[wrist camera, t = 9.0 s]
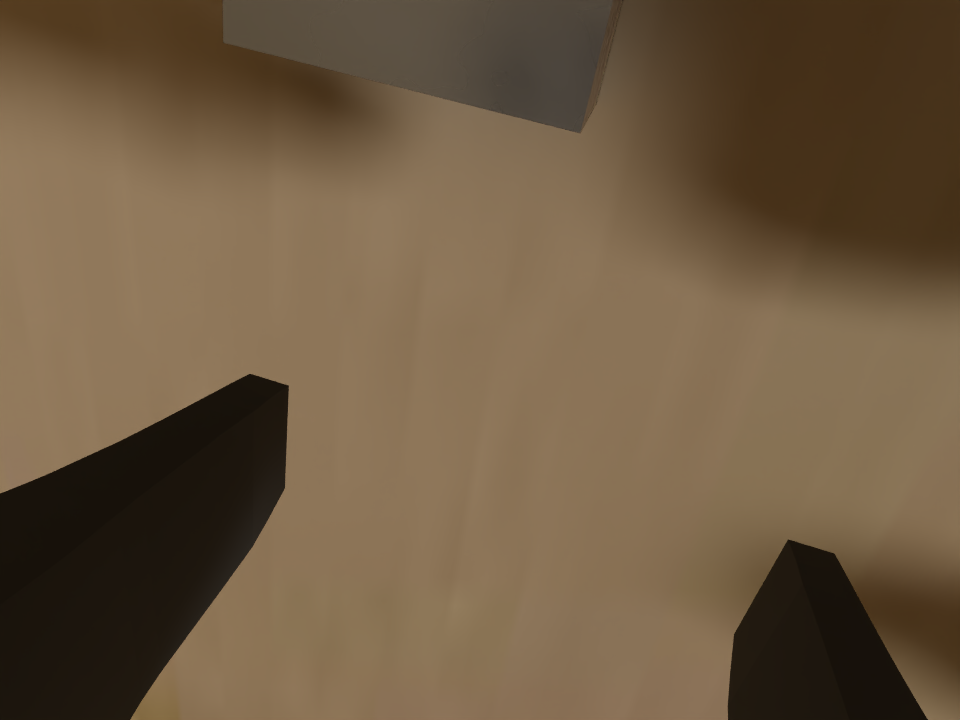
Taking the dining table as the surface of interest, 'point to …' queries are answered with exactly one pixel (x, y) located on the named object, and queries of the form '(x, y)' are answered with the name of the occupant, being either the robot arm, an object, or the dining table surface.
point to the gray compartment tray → (447, 47)
